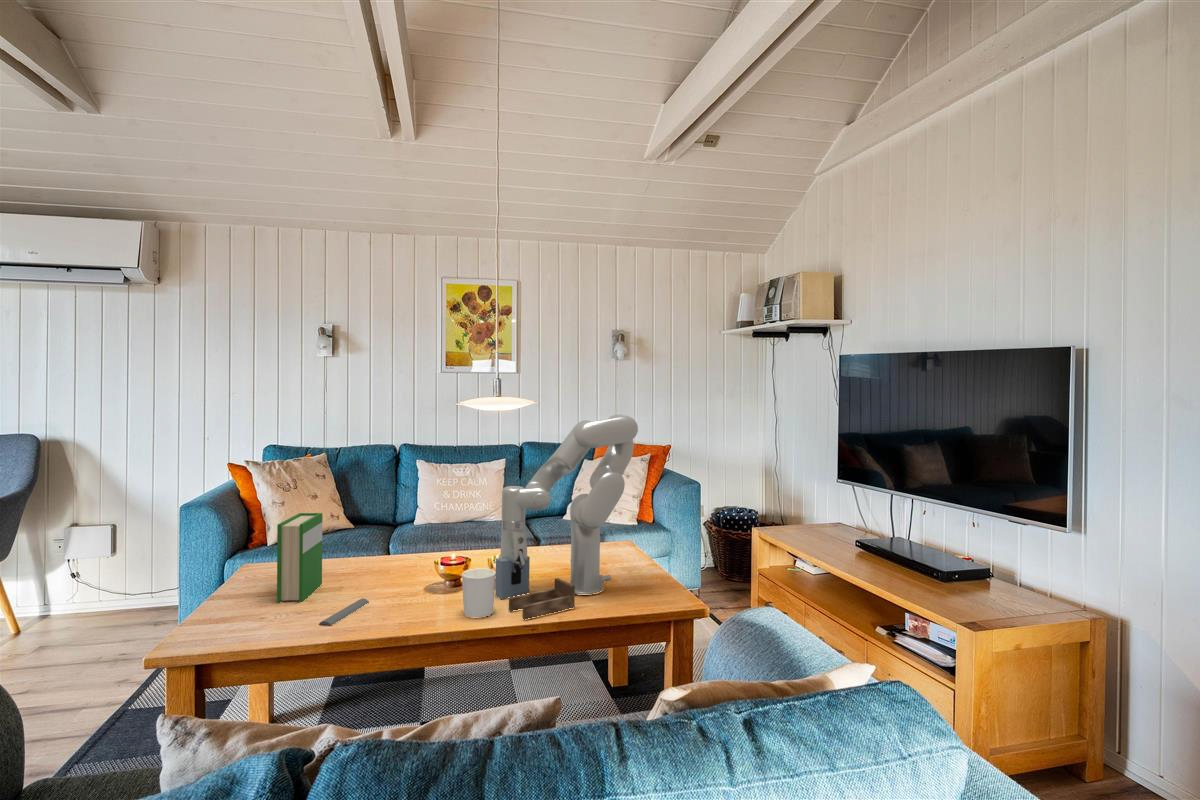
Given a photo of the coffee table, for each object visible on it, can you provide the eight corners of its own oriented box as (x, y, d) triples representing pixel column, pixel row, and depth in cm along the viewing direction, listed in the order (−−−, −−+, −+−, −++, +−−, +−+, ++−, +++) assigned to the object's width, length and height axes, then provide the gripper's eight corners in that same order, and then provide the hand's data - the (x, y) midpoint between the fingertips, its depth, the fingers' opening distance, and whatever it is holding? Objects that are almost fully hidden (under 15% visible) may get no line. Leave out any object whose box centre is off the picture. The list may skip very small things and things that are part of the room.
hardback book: (302, 602, 190) (302, 524, 189) (276, 603, 189) (277, 524, 189) (321, 584, 207) (322, 512, 207) (298, 585, 207) (299, 513, 206)
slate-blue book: (522, 590, 204) (523, 554, 204) (529, 593, 201) (529, 556, 201) (495, 596, 198) (495, 558, 198) (501, 599, 195) (501, 561, 195)
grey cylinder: (462, 621, 177) (463, 579, 176) (460, 609, 186) (460, 569, 186) (497, 618, 179) (497, 576, 179) (493, 606, 189) (493, 567, 189)
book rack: (557, 600, 195) (557, 578, 195) (574, 608, 188) (574, 585, 188) (508, 611, 185) (509, 587, 185) (524, 620, 177) (524, 596, 177)
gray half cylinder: (370, 604, 191) (370, 598, 191) (331, 628, 171) (331, 621, 171) (357, 603, 191) (357, 597, 191) (317, 627, 172) (317, 620, 172)
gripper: (536, 528, 195) (536, 586, 195) (511, 519, 208) (510, 573, 208) (515, 531, 190) (514, 591, 191) (490, 521, 204) (490, 577, 204)
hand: (512, 581), depth 199 cm, fingers closed on slate-blue book, 4 cm apart
